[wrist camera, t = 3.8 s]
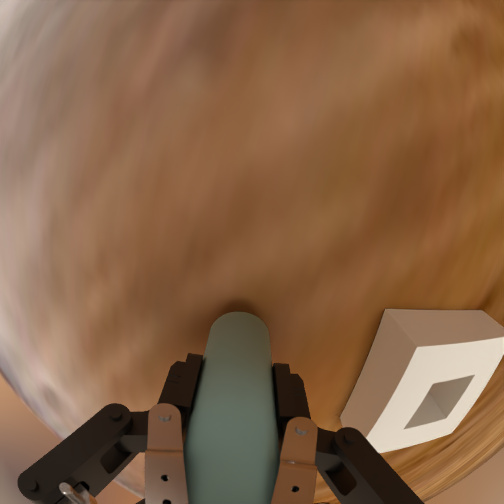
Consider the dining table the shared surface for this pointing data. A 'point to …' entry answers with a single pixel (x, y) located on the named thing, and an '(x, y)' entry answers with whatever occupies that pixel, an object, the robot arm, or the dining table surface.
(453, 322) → the socket block
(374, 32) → the dining table surface
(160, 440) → the robot arm
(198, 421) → the peg
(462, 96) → the dining table surface
